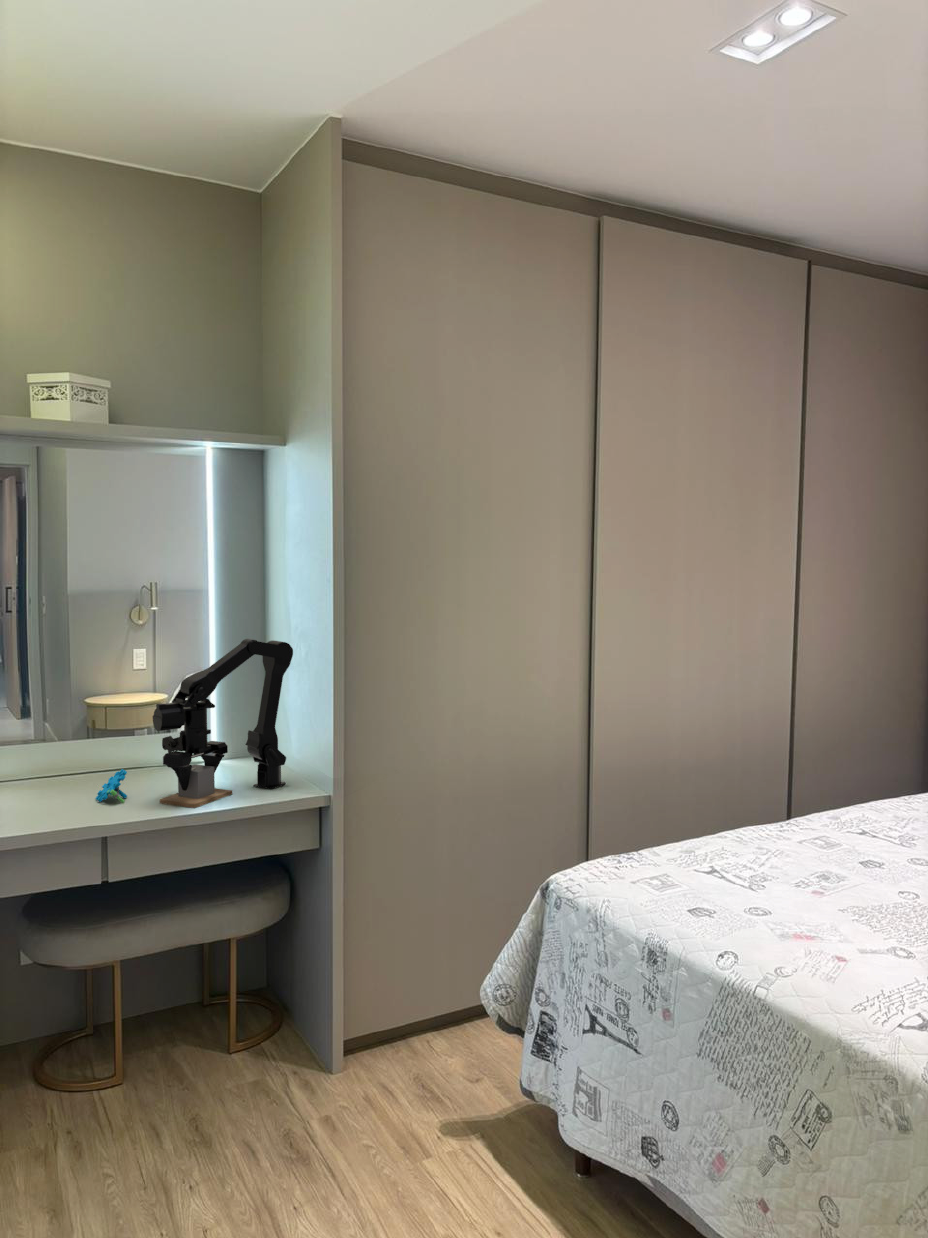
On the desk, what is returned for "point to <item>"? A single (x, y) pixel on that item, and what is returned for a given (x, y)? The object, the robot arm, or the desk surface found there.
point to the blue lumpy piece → (113, 787)
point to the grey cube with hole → (199, 782)
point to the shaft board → (195, 802)
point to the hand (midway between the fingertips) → (196, 786)
